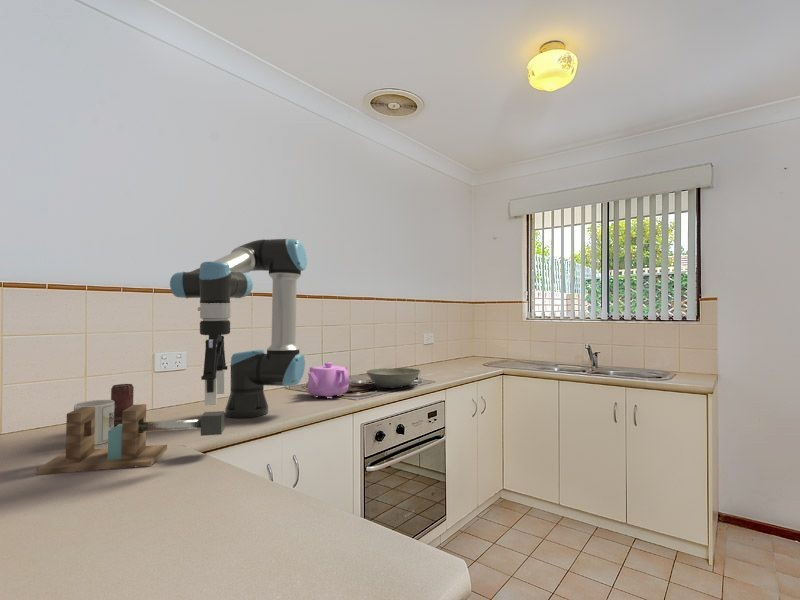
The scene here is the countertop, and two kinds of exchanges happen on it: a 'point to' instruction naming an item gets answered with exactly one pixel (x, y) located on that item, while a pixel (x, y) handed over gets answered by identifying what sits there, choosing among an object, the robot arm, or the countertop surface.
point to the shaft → (189, 424)
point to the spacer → (115, 443)
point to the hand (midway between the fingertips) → (215, 399)
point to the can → (121, 400)
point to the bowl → (393, 376)
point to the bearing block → (88, 458)
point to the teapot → (328, 380)
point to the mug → (101, 418)
